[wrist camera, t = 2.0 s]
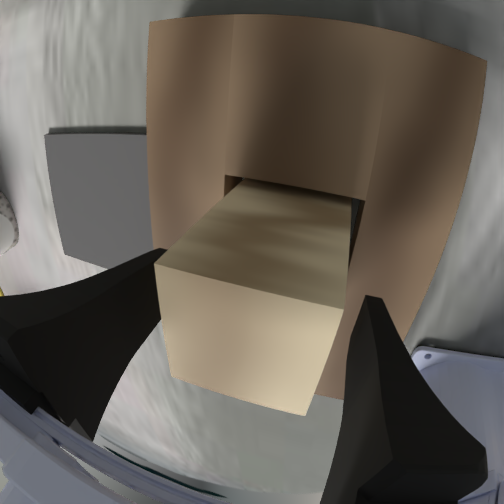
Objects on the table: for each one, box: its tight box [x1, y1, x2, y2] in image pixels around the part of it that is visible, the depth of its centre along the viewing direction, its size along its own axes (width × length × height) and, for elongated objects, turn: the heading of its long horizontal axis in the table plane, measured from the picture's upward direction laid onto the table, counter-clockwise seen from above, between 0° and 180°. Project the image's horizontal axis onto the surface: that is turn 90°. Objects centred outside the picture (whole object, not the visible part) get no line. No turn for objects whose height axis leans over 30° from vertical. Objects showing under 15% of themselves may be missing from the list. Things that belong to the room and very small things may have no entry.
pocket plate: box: [146, 14, 487, 400], centre depth 15 cm, size 14×20×2 cm
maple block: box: [154, 178, 352, 416], centre depth 13 cm, size 5×5×9 cm
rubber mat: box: [44, 133, 154, 269], centre depth 20 cm, size 10×10×1 cm
